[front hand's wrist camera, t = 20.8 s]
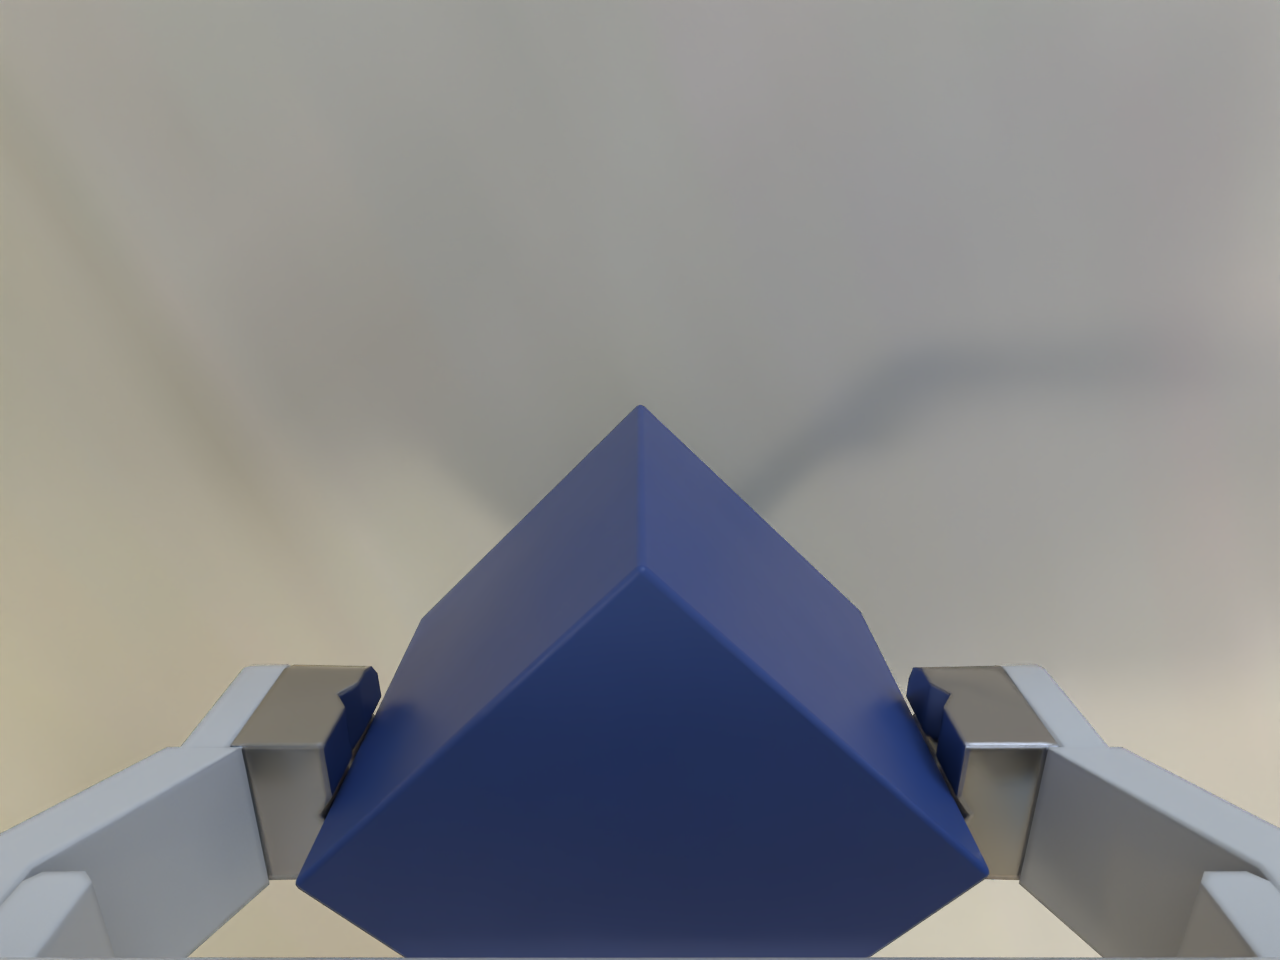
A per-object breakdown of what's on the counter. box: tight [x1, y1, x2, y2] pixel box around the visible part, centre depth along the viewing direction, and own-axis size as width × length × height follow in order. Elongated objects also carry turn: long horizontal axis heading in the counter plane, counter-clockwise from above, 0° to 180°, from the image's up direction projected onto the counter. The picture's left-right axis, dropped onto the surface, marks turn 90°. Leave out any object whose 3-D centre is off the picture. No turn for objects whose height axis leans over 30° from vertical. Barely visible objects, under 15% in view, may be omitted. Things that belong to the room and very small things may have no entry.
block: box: [296, 405, 989, 958], centre depth 10 cm, size 5×5×5 cm
